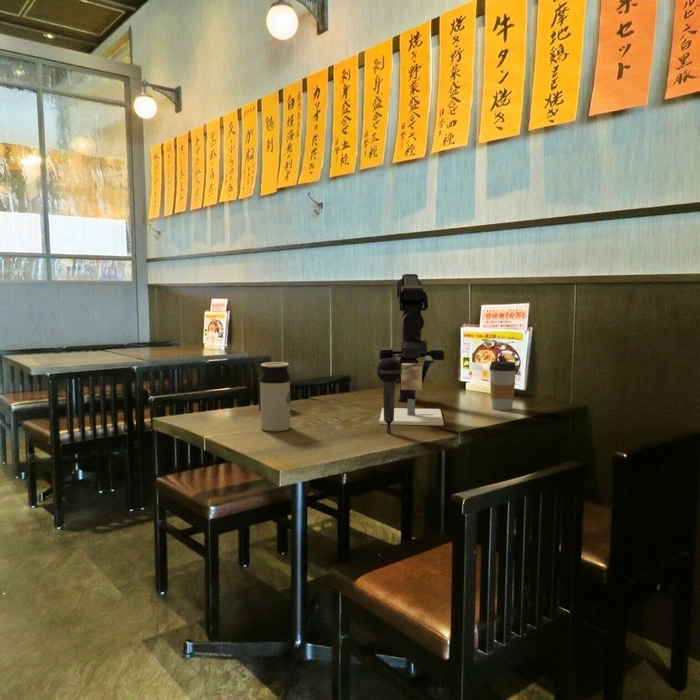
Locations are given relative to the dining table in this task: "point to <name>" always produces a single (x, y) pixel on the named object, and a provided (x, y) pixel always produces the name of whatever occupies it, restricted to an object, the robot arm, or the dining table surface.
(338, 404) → the dining table surface
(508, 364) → the coffee cup
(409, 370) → the cardboard box
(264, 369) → the travel mug
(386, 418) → the microphone
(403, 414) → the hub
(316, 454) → the dining table surface
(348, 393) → the dining table surface
